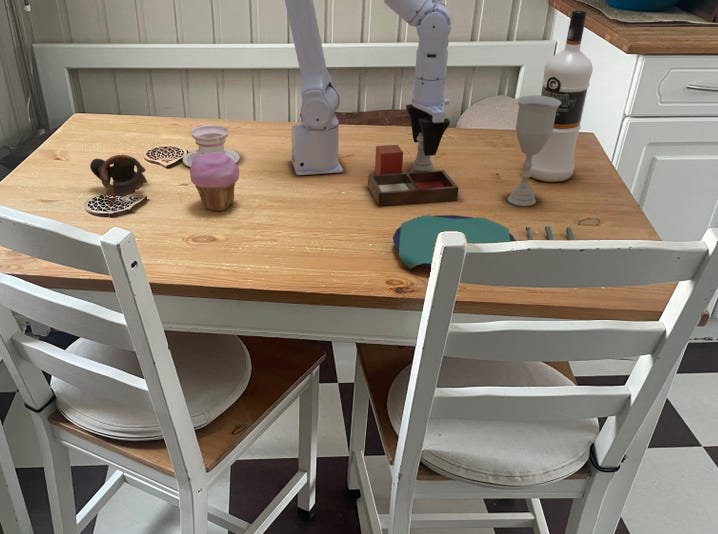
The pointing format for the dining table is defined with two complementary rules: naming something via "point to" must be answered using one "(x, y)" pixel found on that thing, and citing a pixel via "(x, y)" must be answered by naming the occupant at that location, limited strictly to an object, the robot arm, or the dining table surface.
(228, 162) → the cupcake
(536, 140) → the chalice
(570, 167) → the vodka
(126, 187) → the pottery mug
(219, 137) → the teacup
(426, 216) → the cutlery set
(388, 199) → the tray
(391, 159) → the brick-red block
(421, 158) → the rook chess piece
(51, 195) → the dining table surface
